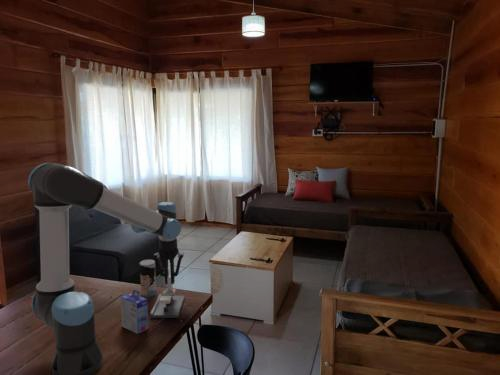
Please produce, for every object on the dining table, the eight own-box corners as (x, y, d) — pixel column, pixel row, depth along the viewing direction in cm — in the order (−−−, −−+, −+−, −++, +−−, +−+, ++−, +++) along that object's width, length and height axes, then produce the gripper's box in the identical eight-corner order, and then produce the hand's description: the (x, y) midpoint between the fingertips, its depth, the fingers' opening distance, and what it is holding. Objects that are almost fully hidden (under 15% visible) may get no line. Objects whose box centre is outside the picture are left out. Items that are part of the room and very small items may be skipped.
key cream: (169, 303, 154) (169, 300, 153) (159, 303, 153) (159, 300, 153) (171, 298, 157) (171, 295, 157) (161, 299, 157) (161, 295, 157)
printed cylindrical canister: (142, 290, 177) (140, 260, 174) (156, 289, 178) (155, 259, 176) (140, 297, 171) (138, 265, 168) (156, 296, 172) (154, 264, 169)
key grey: (171, 297, 158) (171, 294, 158) (162, 297, 158) (161, 294, 158) (173, 293, 162) (173, 290, 162) (164, 293, 162) (163, 290, 162)
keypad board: (177, 317, 153) (177, 312, 153) (150, 317, 153) (150, 312, 152) (184, 298, 170) (184, 292, 169) (159, 298, 170) (159, 293, 169)
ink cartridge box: (149, 328, 145) (147, 293, 143) (138, 335, 141) (135, 298, 138) (133, 320, 151) (131, 286, 148) (121, 326, 147) (119, 291, 144)
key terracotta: (174, 296, 164) (173, 293, 163) (164, 296, 164) (164, 293, 163) (175, 292, 168) (175, 289, 167) (166, 292, 168) (166, 289, 167)
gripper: (184, 235, 165) (186, 286, 169) (154, 235, 165) (157, 286, 169) (182, 241, 157) (183, 294, 162) (150, 241, 157) (153, 294, 162)
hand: (170, 290), depth 165 cm, fingers closed
